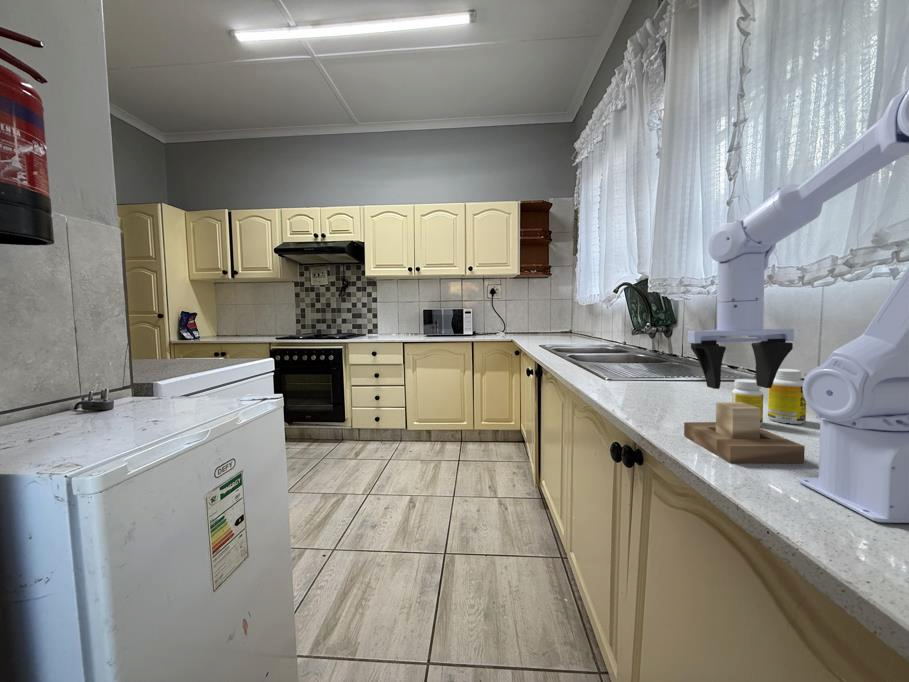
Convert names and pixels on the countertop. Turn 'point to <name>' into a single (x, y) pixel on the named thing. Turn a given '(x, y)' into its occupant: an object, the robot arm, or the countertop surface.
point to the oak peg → (737, 420)
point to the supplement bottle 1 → (748, 394)
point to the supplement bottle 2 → (787, 398)
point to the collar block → (745, 445)
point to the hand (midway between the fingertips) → (738, 387)
